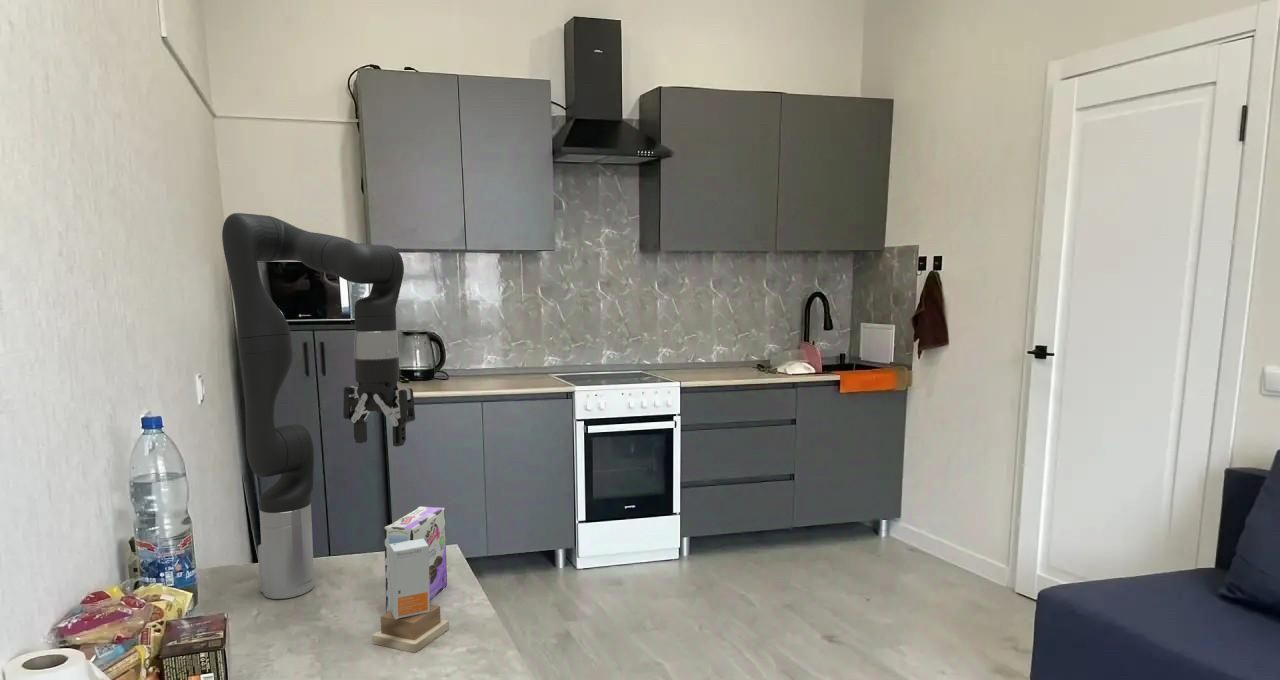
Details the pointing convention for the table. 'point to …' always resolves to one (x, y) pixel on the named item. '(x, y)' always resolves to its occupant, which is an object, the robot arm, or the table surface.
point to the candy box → (432, 530)
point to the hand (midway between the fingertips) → (379, 444)
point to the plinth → (408, 642)
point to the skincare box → (409, 578)
